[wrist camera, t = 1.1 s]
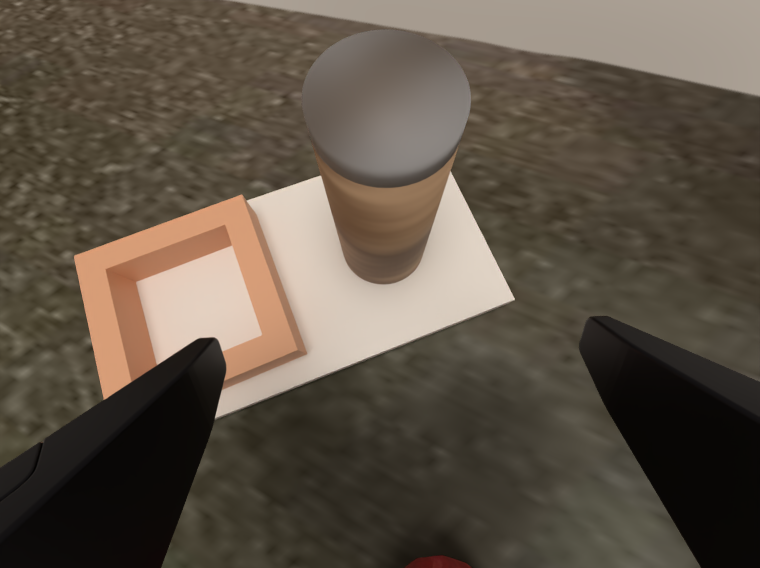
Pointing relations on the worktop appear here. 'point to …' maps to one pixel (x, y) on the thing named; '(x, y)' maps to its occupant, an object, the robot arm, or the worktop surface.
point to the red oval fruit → (437, 562)
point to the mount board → (323, 292)
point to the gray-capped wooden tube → (385, 143)
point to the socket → (163, 252)
